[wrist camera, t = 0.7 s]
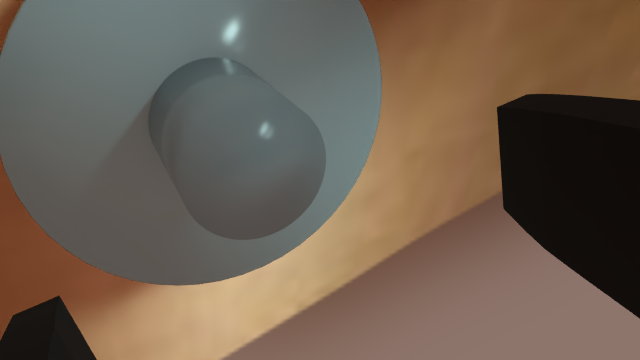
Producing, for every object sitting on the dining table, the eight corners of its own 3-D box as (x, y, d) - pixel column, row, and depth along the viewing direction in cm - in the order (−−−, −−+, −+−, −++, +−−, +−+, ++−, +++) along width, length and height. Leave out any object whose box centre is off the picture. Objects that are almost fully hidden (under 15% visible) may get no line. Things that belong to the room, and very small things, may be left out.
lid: (333, -141, 14) (426, -147, 11) (393, 193, 18) (470, 255, 15) (-98, -20, 11) (-141, 16, 8) (97, 327, 16) (116, 434, 13)
